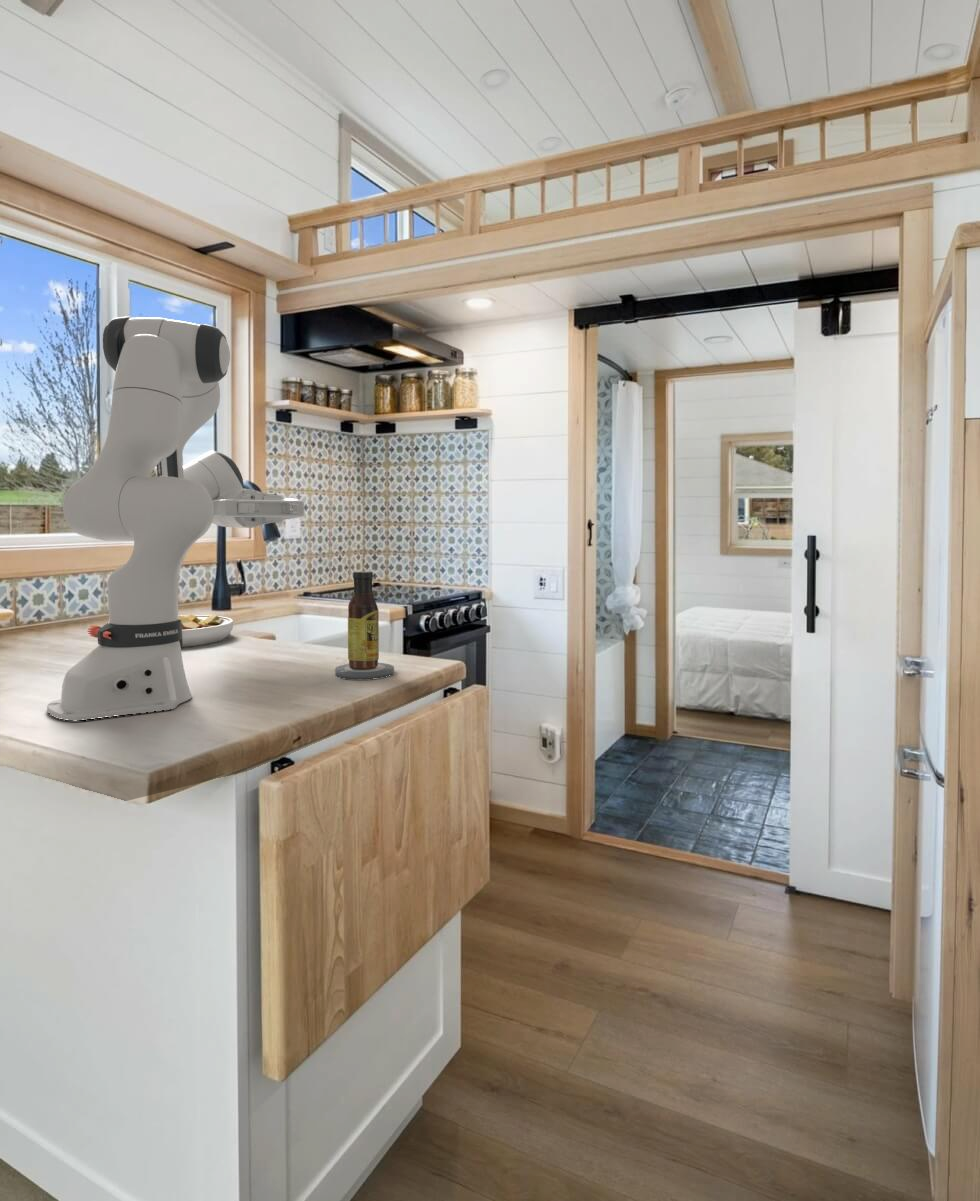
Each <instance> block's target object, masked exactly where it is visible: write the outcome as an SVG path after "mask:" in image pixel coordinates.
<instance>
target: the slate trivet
mask: <svg viewBox="0 0 980 1201" xmlns="http://www.w3.org/2000/svg"><path fill="white" fill-rule="evenodd" d="M393 673H394V674H395V667H394V665H392V664H388V663H384V662H378V666H377V667H376V668H372V669H364V670H362V669H352V668H350V667H349V663H346V664H342V665H339V666H336V667H335V669H334V674H335V677H337V678H339V677H340V678H339V679H342V678H345V679H344V680H349V679H372V680H374V679H373V678H381V677H386V676H389V675H392V674H393ZM394 674H393V675H394ZM393 675H392V676H393ZM389 677H390V676H389ZM386 678H387V677H386ZM381 679H382V678H381Z"/></svg>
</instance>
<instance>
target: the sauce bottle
mask: <svg viewBox="0 0 980 1201" xmlns="http://www.w3.org/2000/svg"><path fill="white" fill-rule="evenodd" d="M352 579H353V595H352V596H351V599H350V600H349V603H348V608H347V611H348V612H347V613H348V616H347V654H348V655H347V659H348V664H349V667H350V668H352V669H362V670H364V669H372V668H376V667H377V666H378V663H379V659H380V658H379V656H380V655H379V654H380V651H379V642H380V638H379V637H380V636H379V634H380V632H379V630H380V628H379V627H380V626H379V625H380V624H379V617H380V616H379V615H380V614H379V607H378V605H377V601H376V599H375V596H374V590H373V579H374V573H373V571H370V570H369V571H367V570H365V571H363V570H362V571H360V570H359V571H357V570H356V571H353V572H352Z"/></svg>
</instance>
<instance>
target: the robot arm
mask: <svg viewBox="0 0 980 1201" xmlns="http://www.w3.org/2000/svg"><path fill="white" fill-rule="evenodd" d="M102 350H103V354H104V358H105V360H106V363H107V364H108V365H109V367H110V368H111V369H112V370H113V371H114V372H115V374H114V380H113V388H112V389H113V390H112V399H111V408H110V416H109V424H108V429H107V430H108V432H107V436H106V439H105V442H104V445H103V447H102V449H101V451H100V452H99V455H98V457H97V458H96V460H95V462H94V463H93V464H92V466H91V467H90V469H89V470H88V471H87V472H86V473H85V474H84V475H83V476H82V477H81V478H79V479H77V481H75V482H74V483H72V484H71V485H70V486H69V487H68V488H67V490H66V492H65V494H64V497H63V501H62V512H63V517H64V520H65V521H66V523H67V525H68V527H69V528H70V530H72V531H73V532H74V533H75V534H77V535H80V536H83V537H86V538H90V539H94V540H99V541H100V540H101V541H109V542H110V541H111V542H113V541H115V542H117V541H118V542H123V541H124V542H127V541H128V542H129V541H131V542H133V550H132V553H131V555H130V557H129V559H128V560H127V562H126V563H124V564H122V565H121V566H119V567H116V568H115V570H113V571H112V572H111V574H110V575H109V577H108V578H107V582H106V585H107V602H108V604H107V605H108V622H107V623H106V624H104V625H103V626H99V625H97V624H92V625H90V626H89V628H87V633H88V635H89V636H90V637H94V638H97V644H98V646H96V647H95V648H94V649H93V650H92V651H90V653H88V654H87V655H86V656H84V657H82V659H81V660H80V661H78V662H77V663H76V664H75V665H73V666H72V667H71V668H69V669H68V670H67V671H66V673H65V675H64V678H63V681H62V686H61V696H60V697H61V698H60V699H57V700H52V701H50V702H48V703H47V705H46V708H47V709H46V712H47V711H48V712H47V714H48V713H50V714H51V715H53V716H55V717H58V718H62V719H68V720H82V719H91V718H98V717H105V716H114V715H125V714H133V715H137V714H136V713H141V714H147V713H146V712H148V713H154V711H156V712H162V710H164V711H168V710H169V711H170V709H171V710H175V709H176V708H177V707H178V705H180V704H182V703H185V702H186V701H189V700H190V699H192V696H193V694H192V693H191V692H192V691H191V689H190V686H189V683H188V679H187V677H186V672H185V668H184V661H183V655H182V653H183V652H182V650H183V647H182V643H183V632H182V624H181V620H180V619H179V579H180V573H181V568H182V565H183V564H184V563H183V562H184V560H185V558H186V556H187V554H188V552H189V551H190V549H191V548H192V546H193V545H194V544H195V543H196V542H197V541H198V540H199V539H200V538H202V537H203V536H204V535H205V534H206V533H207V532H208V530H209V529H210V528H211V526H212V524H214V525H216V526H219V527H223V528H239V529H241V528H242V529H244V528H246V529H247V528H248V529H251V528H252V529H253V528H255V527H260V526H264V525H267V524H278V523H282V522H284V521H285V520H291V519H299V518H302V517H304V516H305V502H304V501H303V500H301V499H296V498H290V497H289V498H288V497H283V495H282V494H274V493H268V492H267V493H266V492H262V491H258V490H255V489H252V488H244V486H245V485H244V479H243V475H242V473H241V471H240V469H239V467H238V466H237V464H236V463H235V462H234V460H233V459H232V458H231V457H230V456H227V455H225V454H223V453H222V452H219V451H216V450H209V451H208V452H205V453H203V454H202V455H200V456H198V457H197V458H194V459H193V460H191V461H190V462H187V463H186V464H184V458H183V457H184V453H183V452H184V449H185V446H186V444H188V441H189V440H190V439H191V438H192V437H193V435H194V434H195V433H197V431H198V430H199V429H201V427H203V426H204V425H205V424H206V423H207V422H208V421H209V420H210V419H211V418H212V417H213V416H215V414H216V412H217V410H218V409H219V405H220V401H221V390H220V389H221V387H220V384H219V383H220V381H221V380H222V379H223V378H224V377H226V375H227V373H228V370H229V366H230V361H231V352H230V346H229V344H228V340H227V337H226V335H225V334H224V333H223V332H222V331H221V330H220V329H219V328H217V327H216V326H214V325H213V326H212V325H209V324H206V323H201V324H196V323H192V322H189V321H188V322H187V321H182V320H177V319H176V320H175V319H168V318H167V317H166V318H164V317H132V316H120V317H114V318H112V319H111V320H110V321H108V323H107V324H106V325H105V327H104V328H103V332H102ZM155 468H156V476H151V475H152V473H153V471H154V470H155ZM51 715H50V716H51ZM125 716H126V715H125Z"/></svg>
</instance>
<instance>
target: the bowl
mask: <svg viewBox="0 0 980 1201" xmlns="http://www.w3.org/2000/svg"><path fill="white" fill-rule="evenodd" d="M178 615H179V614H178ZM179 619H180V620H181V624H182V632H183V643H182V648H190V647H189V646H191V647H197V645H199V646H203V644H205V645H209V644H208V643H210V644H213V642H215V643H217V641H218V642H221V641H222V640H224V639H226V638H227V637H228V636H230V634H231V632H232V631H233V626H234V620H233V619H232V618H231V617H226V616H219V615H217V614H211V615H207V614H205V615H199V614H192V613H190V614H187V615H184V614H183V615H181V614H180V615H179Z"/></svg>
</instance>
